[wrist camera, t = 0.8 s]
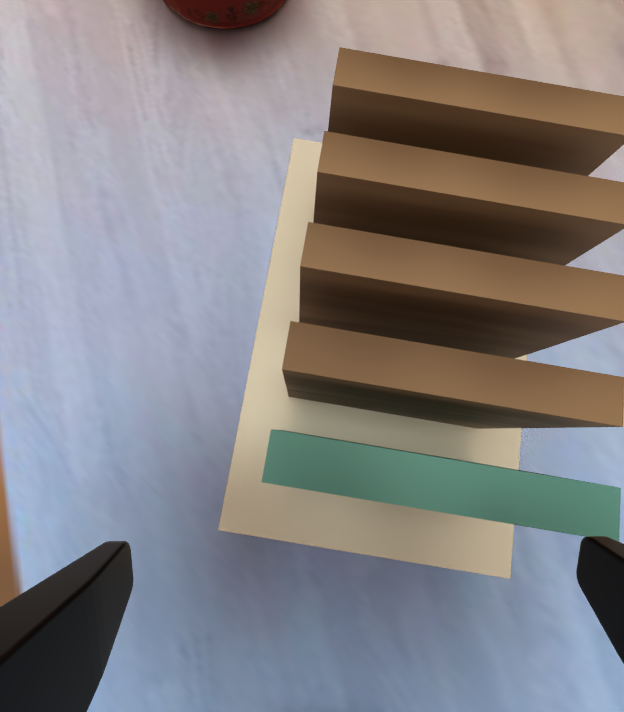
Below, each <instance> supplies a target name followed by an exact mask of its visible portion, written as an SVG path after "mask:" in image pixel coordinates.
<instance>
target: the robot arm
mask: <svg viewBox="0 0 624 712" xmlns="http://www.w3.org/2000/svg"><path fill="white" fill-rule="evenodd" d="M577 580H578V583H579V585H580V587H581V589H582V591H583V593H584V595H585V596H586V598H587V600H588V602H589V604H590V605H591V607H592V609H593V611H594V612H595V614H596V616H597V618H598V620H599V621H600V623H601V625H602V627H603V628H604V630H605V632H606V634H607V636H608V637H609V639H610V641H611V643H612V644H613V646H614V648H615V650H616V652H617V653H618V655H619V657H620V658H621V660H622V662H623V663H624V544H623V543H620V542H618V541H616V540H614V539H611V538H609V537H606V536H586V537H585V538H583V539H582V541H581V545H580V552H579V558H578V565H577ZM132 587H133V570H132V559H131V549H130V545H129V543H127V542H126V541H108V542H105V543H103V544H102V545H100V546H98V547H97V548H95V549H94V550H92V551H90V552H89V553H87V554H85V555H84V556H82V557H81V558H79V559H77V560H76V561H74V562H72V563H71V564H69V565H68V566H66V567H64V568H63V569H61V570H60V571H58V572H56V573H55V574H53V575H51V576H50V577H48V578H47V579H45V580H43V581H42V582H40V583H39V584H37V585H35V586H34V587H32V588H30V589H29V590H27V591H26V592H24V593H22V594H21V595H19V596H17V597H16V598H14V599H13V600H11V601H9V602H8V603H6V604H4V605H3V606H1V607H0V712H87V710H88V707H89V705H90V703H91V701H92V699H93V696H94V694H95V692H96V690H97V687H98V685H99V682H100V680H101V678H102V675H103V673H104V670H105V667H106V665H107V662H108V659H109V656H110V653H111V650H112V647H113V644H114V641H115V638H116V635H117V632H118V630H119V627H120V624H121V621H122V618H123V615H124V612H125V609H126V606H127V603H128V600H129V597H130V594H131V591H132Z"/></svg>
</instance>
